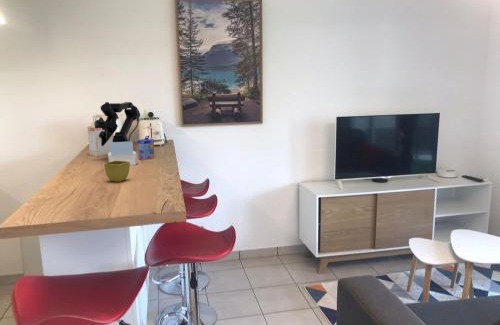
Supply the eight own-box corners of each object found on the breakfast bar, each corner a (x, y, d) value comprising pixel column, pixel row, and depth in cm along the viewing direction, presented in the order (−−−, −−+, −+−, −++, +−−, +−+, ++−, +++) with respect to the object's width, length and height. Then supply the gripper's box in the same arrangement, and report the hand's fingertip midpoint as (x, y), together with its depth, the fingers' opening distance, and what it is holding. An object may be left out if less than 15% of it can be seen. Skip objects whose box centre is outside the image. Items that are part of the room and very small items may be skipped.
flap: (111, 154, 230) (110, 142, 231) (133, 153, 234) (132, 141, 234) (111, 154, 230) (110, 142, 230) (133, 153, 233) (132, 141, 234)
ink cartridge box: (145, 160, 250) (144, 136, 247) (138, 159, 252) (136, 136, 250) (155, 157, 259) (153, 134, 256) (147, 157, 261) (146, 134, 259)
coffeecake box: (109, 152, 280) (106, 124, 276) (115, 153, 276) (113, 124, 272) (89, 155, 268) (86, 126, 264) (95, 156, 264) (93, 126, 260)
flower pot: (131, 179, 201) (130, 161, 199) (120, 183, 193) (119, 164, 191) (116, 178, 204) (115, 160, 202) (104, 182, 196) (103, 163, 194)
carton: (109, 162, 243) (108, 152, 242) (135, 161, 248) (135, 150, 246) (108, 166, 231) (108, 155, 230) (136, 165, 236) (136, 153, 235)
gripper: (93, 122, 252) (86, 144, 245) (102, 108, 238) (95, 131, 231) (111, 129, 257) (105, 150, 250) (120, 116, 243) (114, 138, 236)
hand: (104, 142), depth 241 cm, fingers open, 9 cm apart
